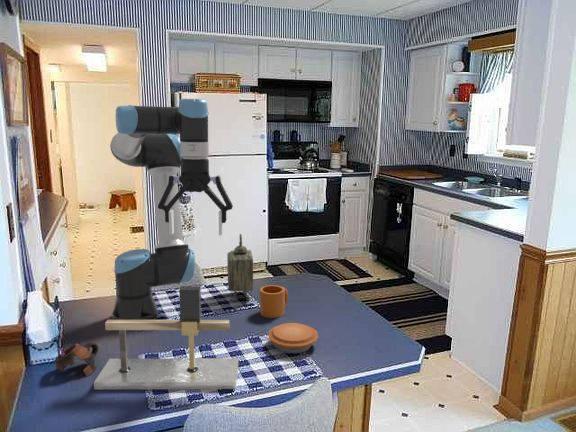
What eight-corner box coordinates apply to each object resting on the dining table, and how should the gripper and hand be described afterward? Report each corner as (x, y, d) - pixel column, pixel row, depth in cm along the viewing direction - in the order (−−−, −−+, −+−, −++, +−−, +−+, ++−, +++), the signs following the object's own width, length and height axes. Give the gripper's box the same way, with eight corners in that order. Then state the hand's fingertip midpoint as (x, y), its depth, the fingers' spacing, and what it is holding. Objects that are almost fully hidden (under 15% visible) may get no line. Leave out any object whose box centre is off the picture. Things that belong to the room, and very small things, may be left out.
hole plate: (110, 365, 130) (109, 358, 130) (238, 364, 132) (238, 358, 131) (94, 389, 119) (93, 382, 118) (235, 388, 120) (235, 381, 120)
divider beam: (110, 368, 125) (107, 319, 122) (229, 367, 126) (229, 319, 124) (108, 371, 123) (105, 322, 120) (229, 371, 125) (228, 323, 122)
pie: (259, 351, 140) (260, 336, 139) (278, 330, 154) (279, 316, 153) (308, 361, 134) (309, 345, 133) (323, 338, 149) (324, 324, 148)
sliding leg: (184, 363, 127) (181, 284, 122) (202, 363, 127) (201, 284, 123) (181, 372, 123) (178, 291, 118) (200, 372, 123) (198, 291, 118)
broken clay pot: (81, 384, 122) (63, 360, 120) (62, 389, 127) (43, 366, 125) (112, 353, 132) (95, 330, 130) (93, 359, 137) (76, 337, 135)
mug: (296, 312, 168) (297, 289, 166) (267, 320, 162) (268, 296, 160) (283, 303, 175) (283, 281, 173) (255, 310, 169) (255, 287, 167)
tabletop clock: (253, 302, 176) (253, 239, 171) (229, 303, 175) (228, 239, 170) (249, 289, 190) (249, 229, 185) (227, 289, 189) (227, 230, 184)
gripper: (144, 158, 121) (147, 236, 125) (239, 159, 122) (240, 237, 126) (151, 155, 128) (154, 230, 133) (241, 157, 129) (241, 231, 134)
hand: (196, 234), depth 130 cm, fingers open, 13 cm apart
